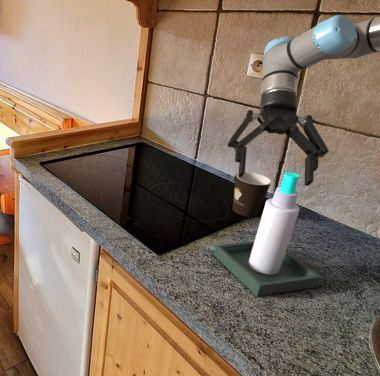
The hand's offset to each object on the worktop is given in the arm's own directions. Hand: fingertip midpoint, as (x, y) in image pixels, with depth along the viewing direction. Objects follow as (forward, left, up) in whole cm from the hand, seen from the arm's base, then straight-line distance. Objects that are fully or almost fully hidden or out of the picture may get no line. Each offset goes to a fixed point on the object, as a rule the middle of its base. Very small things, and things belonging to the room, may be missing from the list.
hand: (274, 179), depth 90 cm
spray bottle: (-9, +5, -17) cm, 20 cm away
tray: (-9, +5, -17) cm, 20 cm away
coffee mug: (+17, -10, -17) cm, 26 cm away
